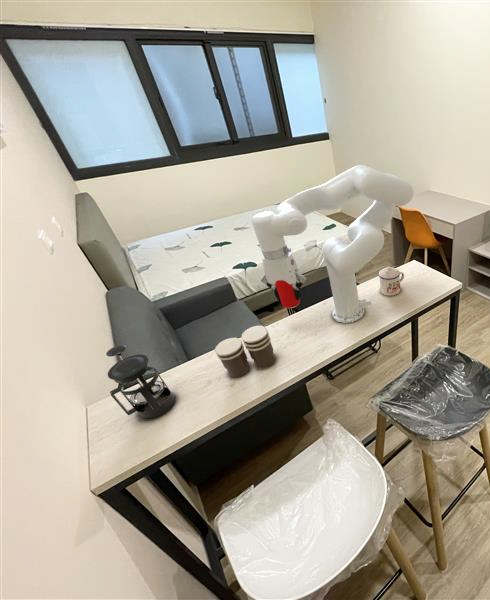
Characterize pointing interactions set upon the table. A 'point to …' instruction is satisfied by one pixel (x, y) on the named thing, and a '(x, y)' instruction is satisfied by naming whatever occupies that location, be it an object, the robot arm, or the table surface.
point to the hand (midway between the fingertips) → (289, 297)
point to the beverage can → (286, 294)
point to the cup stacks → (235, 355)
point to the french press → (146, 392)
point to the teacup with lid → (390, 281)
